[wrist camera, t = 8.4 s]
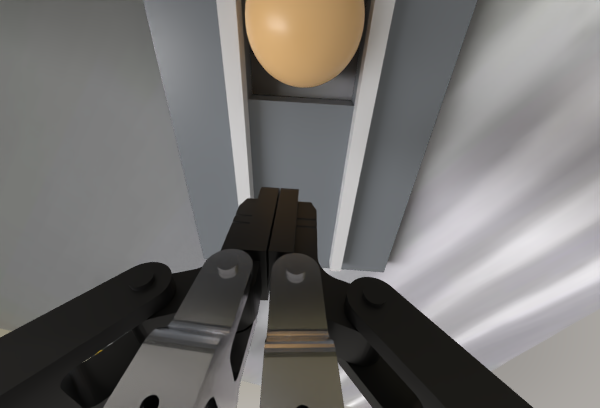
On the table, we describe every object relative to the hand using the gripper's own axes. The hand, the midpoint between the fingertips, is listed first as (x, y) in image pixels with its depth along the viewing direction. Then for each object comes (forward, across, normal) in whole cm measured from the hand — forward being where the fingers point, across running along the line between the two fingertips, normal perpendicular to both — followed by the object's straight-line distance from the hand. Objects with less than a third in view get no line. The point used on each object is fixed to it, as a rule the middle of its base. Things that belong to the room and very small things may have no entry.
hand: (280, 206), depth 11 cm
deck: (+10, 0, 0) cm, 10 cm away
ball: (+7, 0, -6) cm, 10 cm away
